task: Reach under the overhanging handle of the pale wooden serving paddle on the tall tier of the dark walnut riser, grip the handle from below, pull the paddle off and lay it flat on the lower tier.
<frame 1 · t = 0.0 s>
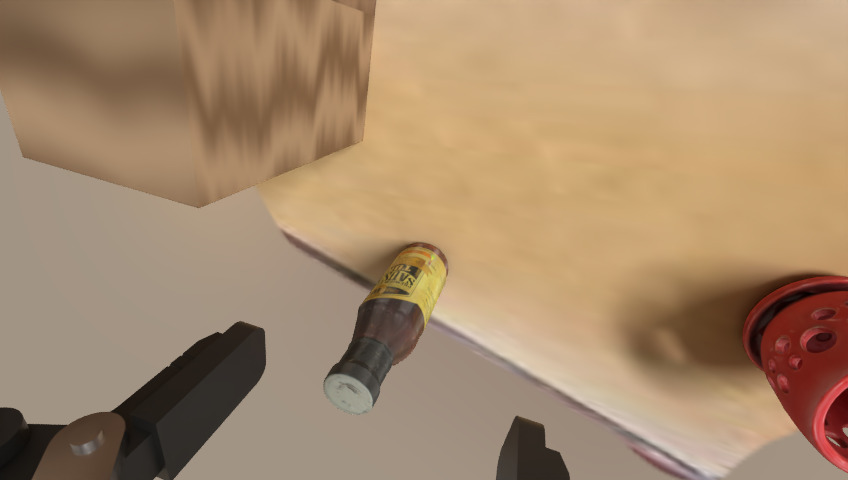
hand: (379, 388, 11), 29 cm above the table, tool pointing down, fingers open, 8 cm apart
walnut riser: (315, 5, 35), on the table
plant pot: (810, 318, 35), on the table
sauce bottle: (423, 263, 43), on the table
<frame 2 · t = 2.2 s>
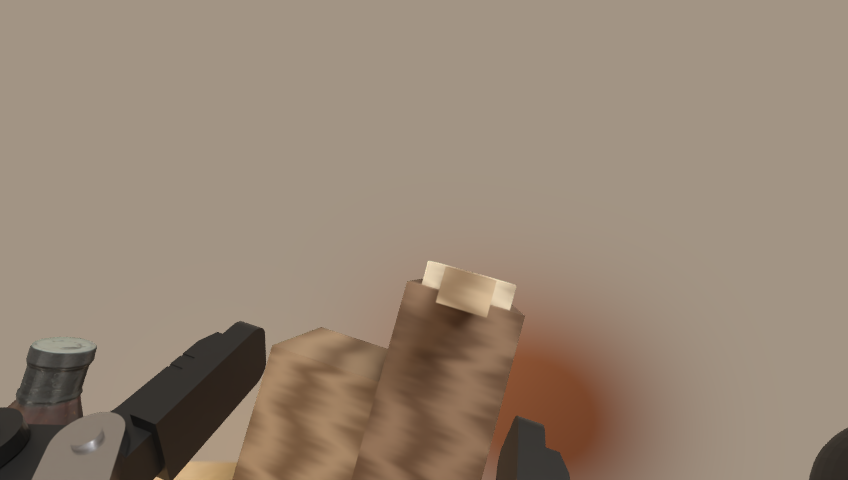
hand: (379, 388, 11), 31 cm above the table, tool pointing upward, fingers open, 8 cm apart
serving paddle: (464, 297, 36), point 32 cm above the table, touching walnut riser
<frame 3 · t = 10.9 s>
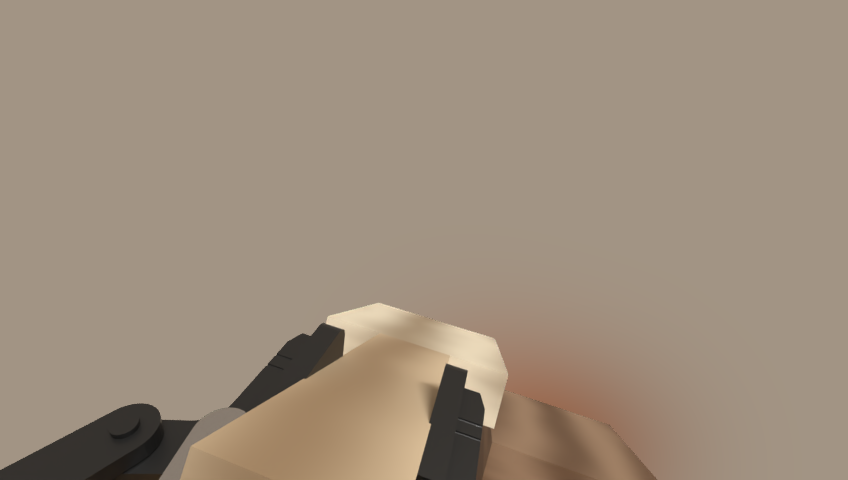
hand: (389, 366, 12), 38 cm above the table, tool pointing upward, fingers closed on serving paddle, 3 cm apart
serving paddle: (399, 396, 17), point 36 cm above the table, touching gripper
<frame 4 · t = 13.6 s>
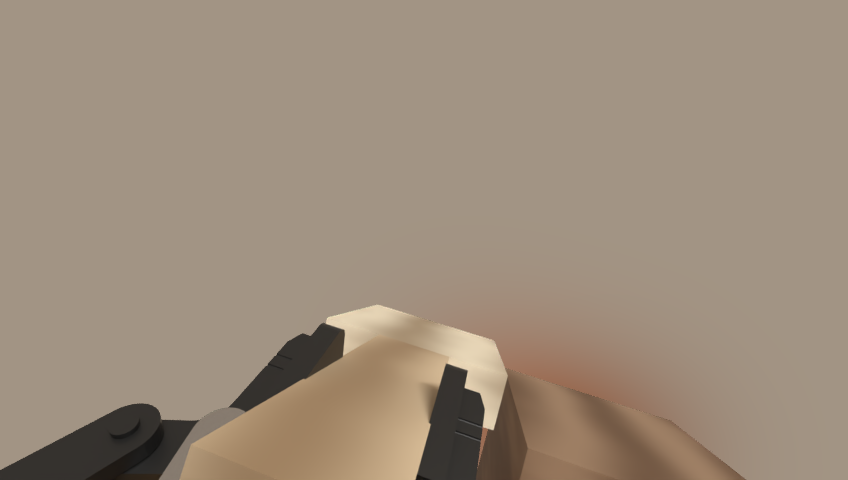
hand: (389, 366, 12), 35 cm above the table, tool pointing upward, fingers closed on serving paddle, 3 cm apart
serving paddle: (399, 397, 17), point 32 cm above the table, touching gripper
when the fingers open (26 cm above the table, at t = 15.8 s): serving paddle stays where it is, resting on walnut riser.
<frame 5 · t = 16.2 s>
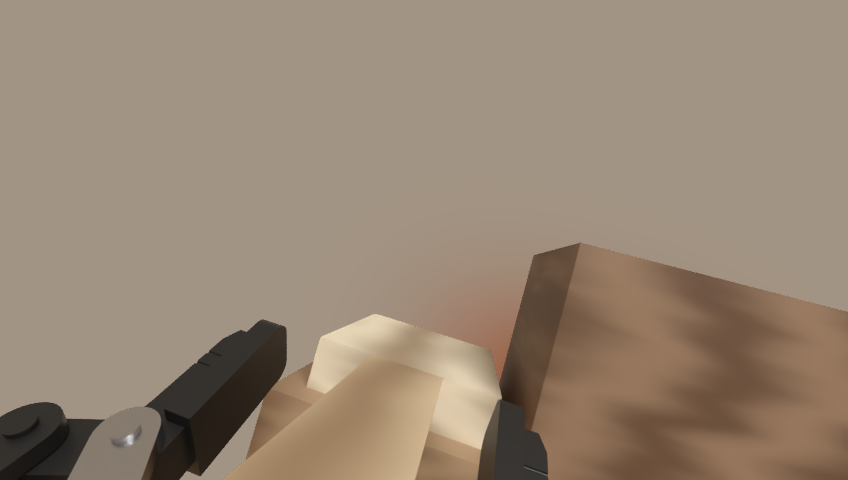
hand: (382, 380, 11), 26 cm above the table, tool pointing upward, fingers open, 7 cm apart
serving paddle: (393, 418, 17), point 22 cm above the table, touching walnut riser
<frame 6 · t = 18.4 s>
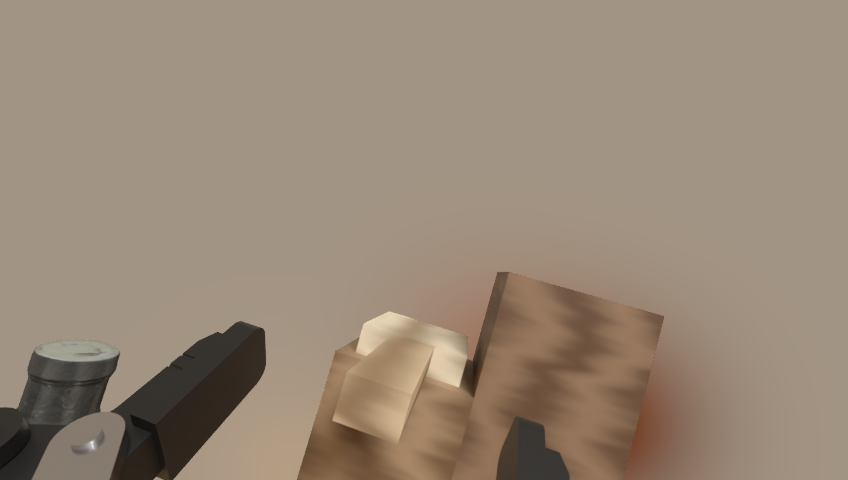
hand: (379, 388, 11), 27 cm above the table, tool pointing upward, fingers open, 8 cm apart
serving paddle: (406, 369, 30), point 22 cm above the table, touching walnut riser
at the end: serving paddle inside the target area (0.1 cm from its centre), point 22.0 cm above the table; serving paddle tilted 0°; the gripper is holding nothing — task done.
